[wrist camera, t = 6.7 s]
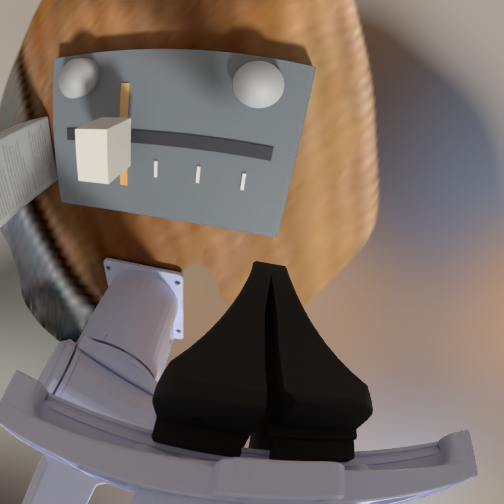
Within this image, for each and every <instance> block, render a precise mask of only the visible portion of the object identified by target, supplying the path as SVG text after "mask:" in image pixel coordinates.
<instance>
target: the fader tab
mask: <svg viewBox="0 0 504 504" xmlns="http://www.w3.org/2000/svg"><path fill="white" fill-rule="evenodd" d="M75 144H76V160H77V172H78V181H84V182H93V183H102V184H110V183H111V182H112V181H113V180H114V179H115V178H117V177H118V176H119V175H120V174H121V173H123V172H124V171H125V170H126V169H127V168H129V167H130V166H131V118H122V117H101V118H98V119H96V120H94V121H91V122H89V123H87V124H84V125H82V126H80V127H78V128H76V129H75Z"/></svg>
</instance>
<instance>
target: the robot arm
mask: <svg viewBox="0 0 504 504" xmlns="http://www.w3.org/2000/svg"><path fill="white" fill-rule="evenodd" d="M103 263H104V268H105V274H106V279H107V283H108V288H107V290H106V292H105V293H104V295H103V297H102V298H101V300H100V302H99V304H98V305H97V307H96V309H95V311H94V312H93V314H92V316H91V318H90V319H89V321H88V323H87V325H86V327H85V328H84V330H83V332H82V334H81V336H80V338H79V340H78V341H77V342H76V343H74V342H73V341H72V340H71V339H68V340H67V341H61V342H60V343H59V344H58V345H57V347H56V348H55V350H54V352H53V353H52V355H51V357H50V359H49V360H48V362H47V364H46V366H45V367H44V369H43V371H42V373H41V375H40V377H39V379H38V380H36V379H34V378H32V377H30V376H28V375H26V374H24V373H22V372H20V371H18V370H16V372H15V373H14V375H13V377H12V379H11V381H10V383H9V385H8V387H7V389H6V391H5V393H4V395H3V397H2V399H1V401H0V425H1V426H2V427H4V428H5V429H6V430H7V431H9V432H10V433H11V434H13V435H14V436H15V437H17V438H18V439H19V440H21V441H22V442H24V443H25V444H27V445H29V446H30V447H32V448H34V449H36V450H38V451H40V452H41V453H42V454H43V455H42V457H41V459H40V461H39V464H38V466H37V468H36V471H35V473H34V475H33V478H32V480H31V483H30V485H29V488H28V490H27V493H26V495H25V498H24V500H23V504H87V503H88V501H89V499H90V497H91V495H92V493H93V491H94V489H95V487H96V486H97V485H100V484H106V483H107V484H110V485H113V486H115V487H118V488H121V489H124V490H127V491H130V492H133V493H134V496H133V501H132V504H398V503H403V502H407V501H411V500H415V499H418V498H422V497H425V496H429V495H432V494H436V493H439V492H442V491H444V490H447V489H449V488H452V487H454V486H456V485H459V484H461V483H463V482H466V481H468V480H470V479H472V478H474V477H476V476H477V475H478V473H477V467H476V462H475V456H474V451H473V446H472V442H471V437H470V433H469V430H464V431H460V432H455V433H452V434H449V435H447V436H445V437H443V438H442V439H440V440H439V441H438V442H433V443H427V444H421V445H415V446H408V447H402V448H393V449H383V450H372V451H358V452H354V440H355V439H356V438H357V433H356V429H357V428H358V427H359V426H361V425H362V424H363V423H364V422H365V421H366V420H367V419H368V418H369V417H370V416H371V415H372V412H373V408H372V401H371V397H370V393H369V390H368V386H367V385H366V384H365V383H363V382H362V381H361V380H360V379H359V378H358V377H357V376H356V375H354V374H353V373H352V372H351V371H350V370H349V369H348V368H347V367H346V366H345V365H344V364H343V363H342V362H341V361H340V360H339V359H338V358H337V356H336V355H335V354H334V353H333V352H332V351H331V349H330V348H329V347H328V346H327V345H326V343H325V342H324V340H323V339H322V338H321V336H320V335H319V333H318V332H317V330H316V329H315V327H314V326H313V324H312V323H311V321H310V319H309V318H308V316H307V314H306V312H305V310H304V308H303V306H302V304H301V302H300V300H299V298H298V296H297V294H296V292H295V289H294V287H293V285H292V282H291V280H290V277H289V274H288V271H287V268H286V267H285V266H281V265H275V264H270V263H264V262H258V261H256V262H254V263H253V267H252V270H251V273H250V275H249V277H248V279H247V281H246V283H245V285H244V287H243V288H242V290H241V292H240V293H239V295H238V296H237V298H236V299H235V301H234V302H233V304H232V305H231V306H230V308H229V309H228V310H227V312H226V313H225V314H224V315H223V316H222V317H221V319H220V320H219V321H218V322H217V323H216V324H215V325H214V326H213V327H212V328H211V329H210V330H209V331H208V332H207V333H206V334H205V335H204V336H203V337H202V338H201V339H200V340H198V341H197V342H196V343H195V344H193V345H192V346H191V347H190V348H189V349H187V350H186V351H184V352H183V353H182V354H180V355H179V356H177V357H176V358H175V359H173V360H172V361H171V362H170V363H169V364H168V366H167V367H166V369H165V370H164V368H165V365H166V361H167V358H168V355H169V352H170V349H171V345H172V342H173V339H174V338H176V339H183V337H184V276H183V274H182V273H180V272H177V271H172V270H166V269H161V268H156V267H151V266H146V265H141V264H137V263H132V262H127V261H122V260H117V259H113V258H105V260H104V261H103ZM177 281H179V282H177ZM163 371H164V372H163ZM250 435H251V437H250V442H249V448H243V447H244V445H245V444H246V442H247V440H248V438H249V436H250Z"/></svg>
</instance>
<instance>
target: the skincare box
mask: <svg viewBox="0 0 504 504" xmlns="http://www.w3.org/2000/svg"><path fill="white" fill-rule="evenodd" d="M57 180H58V176H57V169H56V164H55V159H54V153H53V148H52V142H51V135H50V128H49V120H48V116H45V117H41V118H36V119H32V120H29V121H25V122H21V123H18V124H15V125H13V126H11V127H9V128H7V129H5V130H3V131H1V132H0V227H2V226H3V225H4V224H5V223H6V222H7V221H8V220H9V219H10V218H11V217H13V216H14V215H15V214H16V213H17V212H18V211H19V210H21V209H22V208H23V207H24V206H25V205H27V204H28V203H29V202H30V201H31V200H33V199H34V198H35V197H36V196H38V195H39V194H40V193H41V192H43V191H44V190H45V189H46V188H48V187H49V186H50V185H52V184H53V183H54V182H56V181H57Z"/></svg>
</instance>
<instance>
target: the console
mask: <svg viewBox="0 0 504 504" xmlns="http://www.w3.org/2000/svg"><path fill="white" fill-rule="evenodd" d="M315 70H316V67H313V66H309V65H304V64H300V63H295V62H290V61H285V60H279V59H274V58H268V57H261V56H255V55H247V54H240V53H231V52H220V51H208V50H191V49H135V50H118V51H106V52H97V53H88V54H81V55H74V56H67V57H62V58H56V59H54V69H53V129H54V145H55V157H56V167H57V176H58V184H59V191H60V198H61V202H62V203H69V204H76V205H83V206H90V207H96V208H103V209H109V210H116V211H122V212H129V213H135V214H141V215H148V216H154V217H160V218H166V219H172V220H178V221H184V222H190V223H196V224H202V225H208V226H214V227H220V228H226V229H231V230H237V231H243V232H248V233H254V234H260V235H265V236H271V237H276V238H277V236H278V232H279V228H280V224H281V220H282V215H283V211H284V207H285V203H286V199H287V194H288V190H289V186H290V182H291V177H292V173H293V169H294V165H295V160H296V156H297V151H298V147H299V143H300V138H301V134H302V129H303V125H304V120H305V116H306V111H307V107H308V102H309V98H310V93H311V88H312V84H313V79H314V74H315ZM101 117H122V118H131V166H130V167H129V168H127V169H126V170H125V171H124V172H123V173H121V174H120V175H119V176H118V177H117V178H115V179H114V180H113V181H112V182H111V183H110V184H102V183H93V182H84V181H78V172H77V160H76V144H75V129H76V128H78V127H80V126H82V125H84V124H87V123H89V122H91V121H94V120H96V119H98V118H101Z"/></svg>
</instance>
